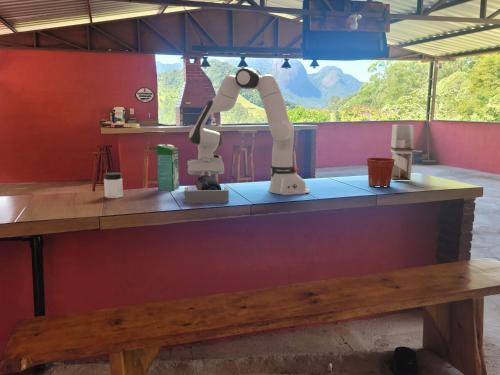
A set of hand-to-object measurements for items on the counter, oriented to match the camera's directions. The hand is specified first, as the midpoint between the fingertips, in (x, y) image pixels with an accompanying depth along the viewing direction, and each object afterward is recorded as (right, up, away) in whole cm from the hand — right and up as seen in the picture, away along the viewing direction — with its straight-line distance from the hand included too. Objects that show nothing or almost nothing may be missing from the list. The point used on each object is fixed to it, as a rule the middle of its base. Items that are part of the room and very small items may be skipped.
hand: (206, 179), depth 234 cm
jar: (-46, -9, -16) cm, 49 cm away
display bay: (+3, -11, -24) cm, 26 cm away
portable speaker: (+2, -9, -14) cm, 17 cm away
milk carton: (-22, -6, +5) cm, 23 cm away
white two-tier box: (+120, 0, +39) cm, 126 cm away
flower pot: (+101, -4, +19) cm, 102 cm away
